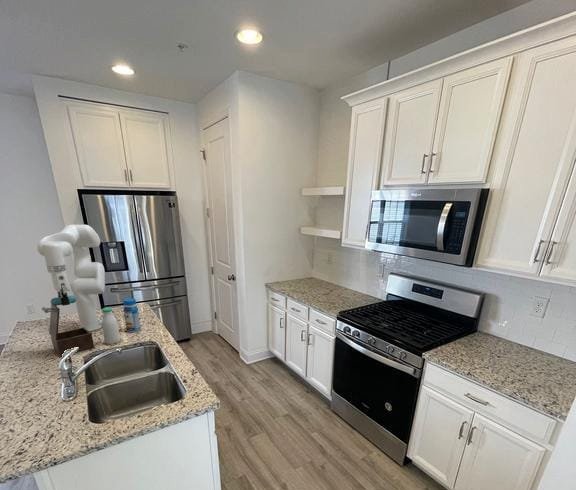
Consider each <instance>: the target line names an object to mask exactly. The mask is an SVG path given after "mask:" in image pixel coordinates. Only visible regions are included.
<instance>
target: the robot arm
mask: <svg viewBox="0 0 576 490" xmlns="http://www.w3.org/2000/svg"><path fill="white" fill-rule="evenodd" d="M100 245H101V238H100V236H99V234H98V233H97V232H96V231H95V229H94V228H93V227H92V226H90V225H88V224H67V225H65V227H63V228H62V230H61V231H60V232H56V233H53V234H50V235H46V236H44V237H42V238H41V239H40V240H39V242H38V243H37V252H38V253H39V255H41V256H43V257H44V260H45V265H46V269H47V273H49V274H50V275H51V280H52V285H53V288H54V290H55V291H56V292H57V297H61V302H62V305H61V306H69V305H71V303H69V298H68V296H69V295H68V292H72V296H75V297H76V302H75V305H76V306H75V307H76V310H77V314H78V315H77V316H78V319H79V324H80V326H79V327H78V328H82V327H84V328H85V329H87V330H88V331H89V332H95V331H97V330H99V329H101V328H102V319H100V320H99V319H98V315H97V308H96V303H95V300H94V299H93V297H92V296H91V295H101V294H104V293H105V291H106V290H105V289H106V274H105V273H106V270H105V267H104V265H103V264H102V263H101V262H97V261H92V258H91V257H92V256H91V254H90V253H89V252H88V251H87V250H85V248H98V247H100ZM72 254H73V273H74V276H75V277H76V279H73V280H71V282H70V284H69V279H68V277H67V274H66V272H67V266H66V261H65V257H69V256H71V255H72Z"/></svg>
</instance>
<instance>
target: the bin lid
mask: <svg viewBox="0 0 576 490" xmlns="http://www.w3.org/2000/svg"><path fill="white" fill-rule="evenodd" d="M41 310H42V311H43V313H45V314H48V313H50V315H49V328H48V329H49V331H48V334H49V335H50V337H51V336H52V337H53V338H54V339H55V340H56V341H57V340H58V333H59V325H60V310H61V308H60V307H58V306H54V305H52V304H51V303H50V307H45V306H43V307H42V308H41Z"/></svg>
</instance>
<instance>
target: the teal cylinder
mask: <svg viewBox="0 0 576 490" xmlns="http://www.w3.org/2000/svg"><path fill="white" fill-rule="evenodd" d="M68 298H69V303H70V304H74V303H76V297H75V296H74V295H68ZM51 304H52V305H54V306H57V307H58V306H63V305H62V302H61V297H58V296H57V297H53V298H51V300H50V305H51Z"/></svg>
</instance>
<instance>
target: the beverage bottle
mask: <svg viewBox="0 0 576 490" xmlns="http://www.w3.org/2000/svg"><path fill="white" fill-rule="evenodd" d="M122 301H123V317H124V321H125V329H126V332H129V333H134V332H138V331H141V328H142V327H141V321H140V312H139V308H138V306H137V305H136V304H137V301H136V298H134V297H127V298H123V300H122Z"/></svg>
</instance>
